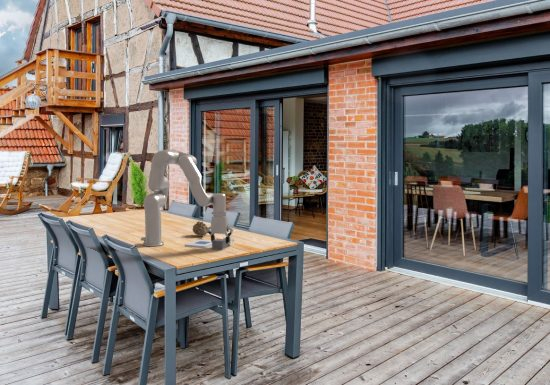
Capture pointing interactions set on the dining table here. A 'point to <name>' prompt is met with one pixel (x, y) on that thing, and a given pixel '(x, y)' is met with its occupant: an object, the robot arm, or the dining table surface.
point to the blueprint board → (200, 243)
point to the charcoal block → (219, 244)
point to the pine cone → (200, 229)
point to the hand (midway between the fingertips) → (220, 242)
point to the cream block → (230, 241)
